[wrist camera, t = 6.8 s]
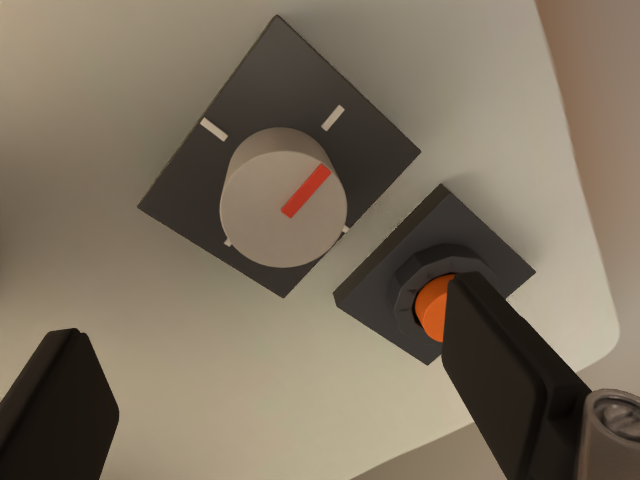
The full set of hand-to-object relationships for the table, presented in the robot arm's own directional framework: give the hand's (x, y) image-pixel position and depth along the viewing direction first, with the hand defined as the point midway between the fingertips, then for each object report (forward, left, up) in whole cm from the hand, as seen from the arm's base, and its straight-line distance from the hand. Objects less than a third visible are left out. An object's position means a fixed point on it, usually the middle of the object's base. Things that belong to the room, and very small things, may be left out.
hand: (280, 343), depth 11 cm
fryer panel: (0, 0, -17) cm, 17 cm away
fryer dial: (0, 0, -13) cm, 13 cm away
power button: (0, -15, -14) cm, 20 cm away
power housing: (0, -15, -17) cm, 22 cm away
